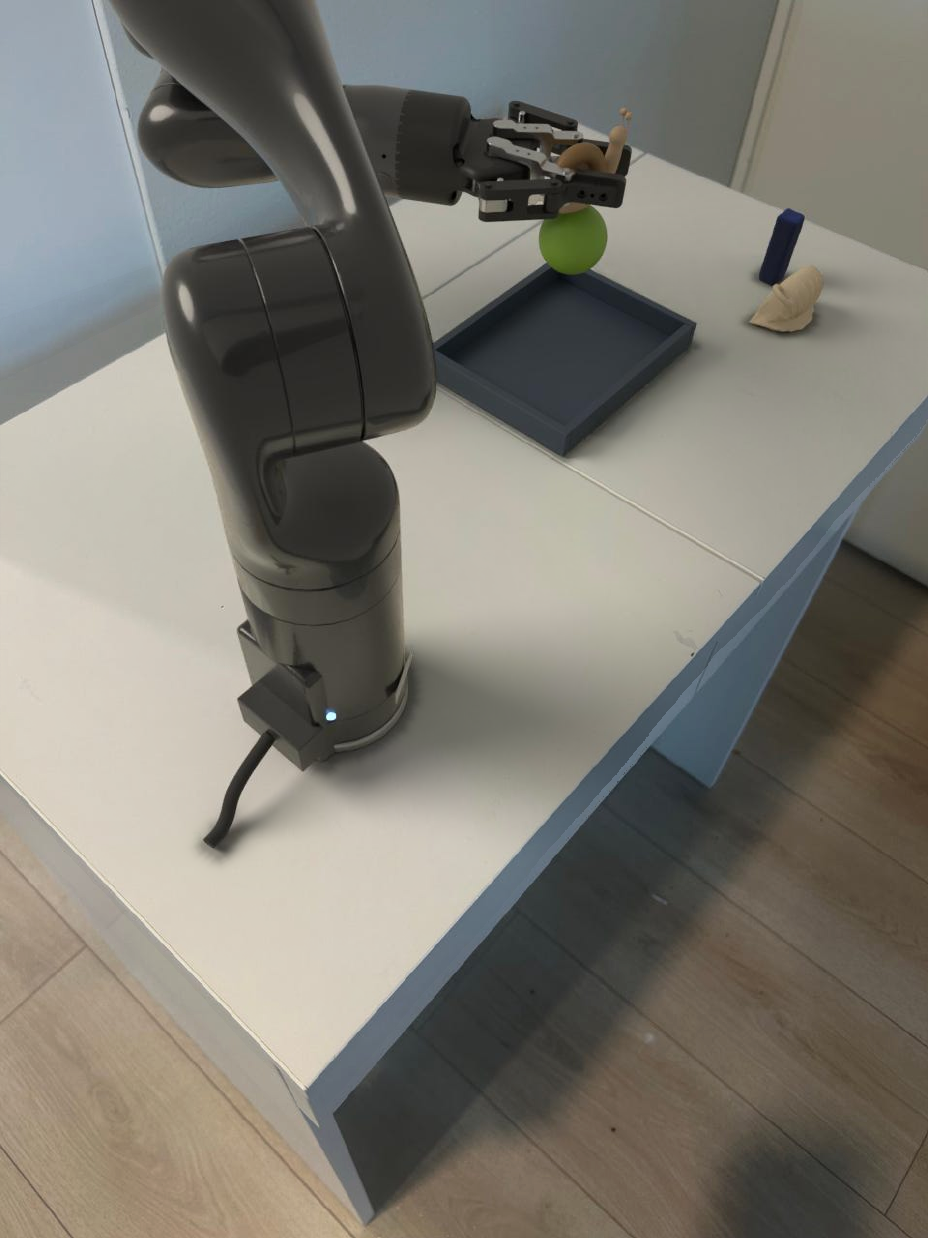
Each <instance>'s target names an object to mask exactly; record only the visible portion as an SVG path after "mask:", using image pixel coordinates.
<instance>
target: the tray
mask: <svg viewBox="0 0 928 1238" xmlns="http://www.w3.org/2000/svg"><path fill="white" fill-rule="evenodd" d="M697 325H698V323H697V322H696V321H693V320H691V319H690V318H688V317H686V316H685V315H682V314H680V313H678V312H676V311H673V310H672V309H670V308H668V307H666V306H664V305H662V304H661V303H658V302H656V301H655V300H652V299H650V298H648V297H647V296H644V295H642V294H640V293H638V292H636V291H635V290H632V289H631V288H629V287H626V286H625V285H623V284H620V283H618V282H617V281H616V280H613V279H611V278H609V277H607V276H604V275H603V274H601V273H600V272H597V271H595V270H593V269H592V268H591V269H589V270H588V271H586V272H583V273H580V274H574V275H570V274H563V273H560V272H558V271H556V270H554V269H553V268H552V267H551V266H549V265H548V263H547V262H545V263H544V264H542V265H541V266H539V267H538V268H537V269H536V270H534V271H532V272H531V273H530V274H528V275H527V276H526V277H524V278H522V279H521V280H520V281H518V282H517V283H515V284H514V285H512V286H511V287H510V288H509V289H507V290H506V291H504V292H503V293H501V294H500V295H499V296H497V297H495V298H494V299H493V300H492V301H490V302H489V303H487V304H486V305H484V306H482V308H480V309H479V310H478V311H476V312H475V313H473V314H471V315H470V316H469V317H468V318H466V319H465V320H464V321H463V320H462V322H460V323H459V324H457V325H456V326H455V327H453V328H452V329H450V330H449V331H448V332H446V333H445V334H443V335H442V336H441V337H439V338H438V339H436V340H435V341H433V345H434V352H435V360H436V370H437V383H439V384H441V385H442V386H443V387H445V388H447V389H448V390H450V391H452V392H453V393H455V394H456V395H459V396H460V397H462V398H464V399H465V400H467V401H468V402H470V403H472V404H473V405H475V406H477V407H479V408H481V409H482V410H484V412H487V413H488V414H490V415H492V416H493V417H495V418H496V419H498V420H500V421H502V422H504V423H505V424H506V425H508V426H510V427H512V428H513V429H515V430H517V431H518V432H520V433H522V434H523V435H524V436H526V437H528V438H530V439H531V440H533V441H535V442H536V443H538V444H540V445H541V446H543V447H545V448H546V449H548V450H549V451H551V452H553V453H554V454H556V455H558V456H559V457H561V458H564V457H565V456H567V455H568V454H569V453H570V452H571V451H573V450H574V449H575V448H576V447H577V446H578V445H579V444H580V443H581V442H582V441H584V440H585V439H586V438H587V437H589V435H591V434H592V433H593V432H594V431H596V429H597V428H598V427H600V426H601V425H602V424H603V423H604V422H605V421H607V420H608V419H609V418H610V417H611V416H612V415H614V413H616V412H617V411H618V410H620V409H621V407H623V406H624V405H625V404H626V403H628V401H630V399H632V398H633V397H634V396H635V395H636V394H637V393H639V392H640V391H641V390H642V389H643V388H645V387H646V386H647V385H649V383H650V382H651V381H653V379H654V378H656V377H657V376H658V375H659V374H660V373H661V372H663V371H664V370H665V369H666V368H667V367H668V366H669V365H671V364H672V363H673V362H674V361H676V359H678V358H679V357H680V356H681V355H682V354H683V353H684V352H685V351H687V350H688V349H689V348H691V346H692V343H693V339H694V336H695V332H696V328H697Z"/></svg>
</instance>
